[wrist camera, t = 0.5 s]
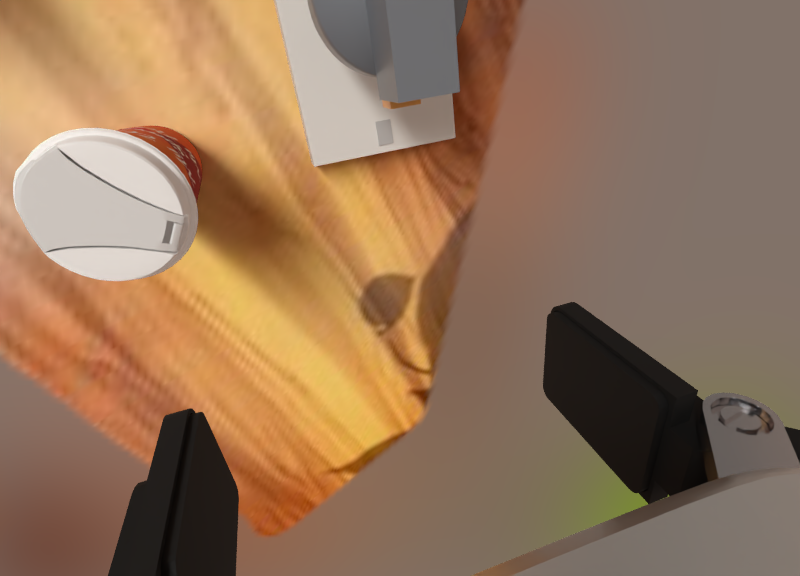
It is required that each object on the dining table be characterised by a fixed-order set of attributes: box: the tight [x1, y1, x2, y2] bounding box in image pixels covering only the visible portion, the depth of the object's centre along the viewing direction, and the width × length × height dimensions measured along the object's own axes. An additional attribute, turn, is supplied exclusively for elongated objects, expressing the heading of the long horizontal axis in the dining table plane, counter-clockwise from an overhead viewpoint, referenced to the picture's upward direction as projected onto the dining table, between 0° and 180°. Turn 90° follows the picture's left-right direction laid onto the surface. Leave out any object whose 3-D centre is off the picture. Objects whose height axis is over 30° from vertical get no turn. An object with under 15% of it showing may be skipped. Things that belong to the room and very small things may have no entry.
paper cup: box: [13, 126, 202, 281], centre depth 26 cm, size 8×8×14 cm
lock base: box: [274, 0, 456, 167], centre depth 29 cm, size 20×12×6 cm, turn 8°
